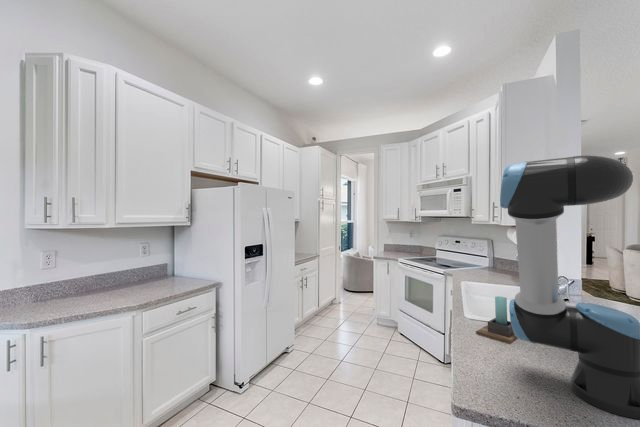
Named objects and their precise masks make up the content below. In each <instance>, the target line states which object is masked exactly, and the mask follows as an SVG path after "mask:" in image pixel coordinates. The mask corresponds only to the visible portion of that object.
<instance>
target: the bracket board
mask: <svg viewBox="0 0 640 427" xmlns="http://www.w3.org/2000/svg"><path fill="white" fill-rule="evenodd" d="M477 334H478V335H477ZM475 335H477V336H481V337H484V338H488V339H491V340H495V341H498V342H500V343H504V344H508V345H511V344H513V342H514V341H516V340H518V339H519V338H518V337H517V336H516V335H515V334H514V332H513V329H512V325H511V321H509V320H507V326H504V325H500V324H496V317H494V318H492V319H490V320H489V321H487V324H486V325H485V326H483V327H481V328H479V329H478V330H476V331H475Z"/></svg>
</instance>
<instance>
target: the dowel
mask: <svg viewBox="0 0 640 427" xmlns="http://www.w3.org/2000/svg"><path fill="white" fill-rule="evenodd" d="M507 300H508V299H507V297H504V296H495V297H494V306H495V307H494V308H495V309H494V310H495V318H496V324H500V325H504V326H507V321H508V302H507Z"/></svg>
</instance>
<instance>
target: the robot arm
mask: <svg viewBox="0 0 640 427" xmlns="http://www.w3.org/2000/svg"><path fill="white" fill-rule="evenodd" d="M633 181H634V175H633V172H632V170H631V169H630V167H628V165H626V164H625V163H624V162H621V161H620V160H616V159H614V158H610V157H605V156H601V155H598V156H597V155H575V156H568V157H559V158H550V159H543V160H539V159H538V160H532V161H531V160H530V161H524V162H519V163H513V164H509V165H507V166H506V167H505V169H504V170H503V174H502V179H501V184H500V185H501V186H500V195H499V196H500V197H499V199H500V200H499V201H500V202H499V203H500V207H501V208H503V209H507V215H508V216H509V217H510V218H513V219H514V221H515V237H516V250H517V263H518V277H519V279H518V280H519V292H517V293H516V294H515V295H514V298H511V299H510V300H509V306H508V309H509V310H508V311H509V316H510V317H509V320H510V322H511V325H512V329H513V332H514V334H515V335H516V336H517V337H518V338H517V339H519V340H522V341H525V342H529V343H531V344H539V345H544V346H548V347H552V348H557V349H560V350H565V351H570V352H575V353H578V360H577V361H578V362H577V364H576V367H575V369H574V372H572V376H571V377H570V388H571V391H572V392H573V393H574V394H575V395H576V396H577V397H579V399H582V400H583V401H584V402H587V403H588V404H590V405H591V406H594V407H596V408H598V409H601V410H603V411H606V412H608V413H612V414H614V415H618V416H622V417H626V418H631V419H636V418H640V321H639V320H638V319H637V318H636V317H635V316H633V315H631V314H629V313H627V312H626V311H625V312H624V311H623V310H619V309H616V308H613V307H608V306H605V305H601V304H598V303H597V304H595V303H590V302H588V303H587V302H578V303H576V304H577V305H576V308H572V307H566V302H567V301H565V300H564V299H563V298H562V297H561V296H559V293H560V292H559V266H558V241H557V240H558V236H557V234H558V233H557V219H558V218H560V217H561V216H563V214H564V212H565V207H569V206H585V205H591V204H599V203H604V202H607V201H611V200H614V199H616V198H619V197H621V196H622V195H624V194H625V193H626V192H628V190H629V189H630V188H631V186H632V184H633Z"/></svg>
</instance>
